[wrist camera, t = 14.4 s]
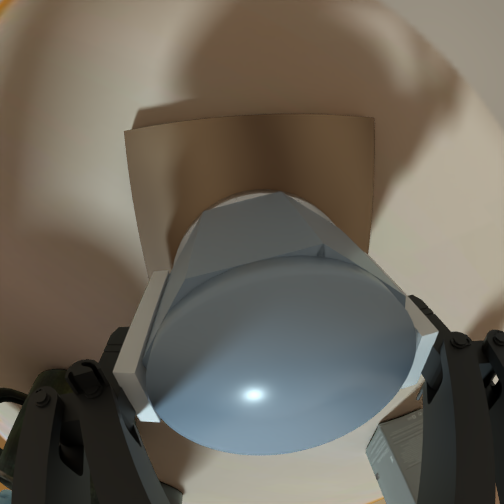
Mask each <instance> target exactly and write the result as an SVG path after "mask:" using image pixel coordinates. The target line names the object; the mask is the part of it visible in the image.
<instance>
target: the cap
mask: <svg viewBox="0 0 504 504" xmlns="http://www.w3.org/2000/svg"><path fill="white" fill-rule="evenodd" d="M405 302H406V296H405V295H404V294H403V293H402V291H401V290H400V289H399V288H398V287H397V286H396V285H395V284H394V283H393V282H392V281H391V280H390V279H389V278H388V276H387V275H386V274H385V273H384V272H383V271H382V270H381V269H380V268H379V267H378V266H377V265H376V264H375V263H374V262H373V261H372V260H371V259H370V258H369V257H368V256H367V255H366V254H365V253H364V252H363V251H362V250H361V249H360V248H359V247H358V246H357V245H356V244H355V243H354V242H353V241H352V240H351V239H350V238H349V237H348V236H347V235H346V234H345V233H344V232H343V231H342V230H341V229H339V228H338V227H336V226H335V225H333V224H332V223H330V222H329V221H327V220H326V219H324V218H323V217H321V216H320V215H318V214H317V213H315V212H313V211H312V210H310V209H309V208H307V207H306V206H304V205H302V204H301V203H299V202H298V201H296V200H294V199H293V198H291V197H290V196H288V195H286V194H285V193H283V192H281V191H280V192H276V193H271V194H267V195H263V196H259V197H255V198H251V199H247V200H244V201H240V202H236V203H232V204H228V205H225V206H221V207H217V208H213V209H210V210H206V211H203V213H202V215H201V216H200V218H199V220H198V222H197V224H196V225H195V227H194V229H193V231H192V233H191V235H190V236H189V238H188V240H187V242H186V244H185V246H184V248H183V249H182V251H181V253H180V255H179V257H178V259H177V261H176V263H175V265H174V267H173V269H172V270H171V272H170V275H169V278H168V281H167V284H166V287H165V290H164V292H163V295H162V298H161V301H160V304H159V307H158V310H157V314H156V317H155V320H154V323H153V326H152V329H151V332H150V336H149V339H148V342H147V345H146V349H145V352H144V356H143V359H142V363H143V365H144V367H145V368H146V370H147V371H146V389H147V392H148V396H149V399H150V401H151V403H152V405H153V407H154V409H155V411H156V412H157V413H158V415H159V416H160V417H161V419H162V420H163V421H164V422H165V423H166V424H167V425H168V426H170V427H171V428H172V429H173V430H175V431H176V432H177V433H179V434H180V435H182V436H184V437H185V438H187V439H189V440H191V441H193V442H195V443H197V444H200V445H202V446H205V447H208V448H211V449H215V450H219V451H223V452H228V453H234V454H242V455H277V454H285V453H292V452H297V451H302V450H306V449H309V448H313V447H316V446H319V445H322V444H325V443H328V442H330V441H333V440H335V439H337V438H340V437H342V436H344V435H346V434H347V433H349V432H351V431H353V430H355V429H356V428H358V427H360V426H361V425H363V424H364V423H366V422H367V421H368V420H370V419H371V418H372V417H374V416H375V415H376V414H377V413H378V412H380V411H381V410H382V409H383V408H384V407H385V406H386V405H387V404H388V403H389V402H390V401H391V400H392V399H393V397H394V396H395V395H396V394H397V392H398V391H399V390H400V388H401V387H402V385H403V384H404V382H405V380H406V379H407V377H408V374H409V372H410V370H411V368H412V365H413V361H414V358H415V353H416V332H415V328H414V324H413V321H412V319H411V317H410V315H409V314H408V312H407V310H406V309H405Z"/></svg>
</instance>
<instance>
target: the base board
mask: <svg viewBox="0 0 504 504" xmlns="http://www.w3.org/2000/svg"><path fill="white" fill-rule="evenodd" d="M124 136H125V145H126V154H127V162H128V170H129V177H130V184H131V191H132V197H133V203H134V209H135V215H136V220H137V226H138V231H139V236H140V241H141V246H142V251H143V255H144V260H145V264H146V269H147V273H148V277H149V281H150V279H151V277H152V274H153V272H154V271H166V270H169V274H170V272H171V270H172V269H173V264H174V259H175V256H176V253H177V250H178V247H179V245H180V242H181V240H182V238H183V236H184V234H185V232H186V230H187V229H188V228H189V226H190V225H191V223H192V222H193V221H194V220H195V219H196V218H197V217H198V216H199V215H200V214H201V213H202V212H203V211H204V210H205V209H207V208H208V207H209V206H211V205H212V204H214V203H216V202H217V201H219V200H221V199H223V198H225V197H228V196H230V195H232V194H236V193H239V192H243V191H249V190H256V189H271V190H279V191H284V192H288V193H291V194H294V195H297V196H299V197H301V198H304V199H305V200H307V201H309V202H310V203H312V204H313V205H315V206H316V207H317V208H318V209H320V210H321V211H322V212H323V213H324V214H325V215H326V216H327V217H328V218H329V219H330V220H331V221H332V222H333V223H334V224H335V226H336V227H338V228H339V229H341V230H342V231H343V232H344V233H345V234H346V235H347V236H348V237H349V238H350V239H351V240H352V241H353V242H354V243H355V244H356V245H357V246H358V247H359V248H360V249H361V250H362V251H363V252H366V253H367V254H368V249H369V240H370V230H371V218H372V204H373V187H374V154H375V130H374V118H370V117H358V116H344V115H323V114H264V115H243V116H228V117H216V118H206V119H197V120H189V121H181V122H174V123H167V124H160V125H154V126H148V127H143V128H137V129H132V130H127V131H124Z"/></svg>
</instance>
